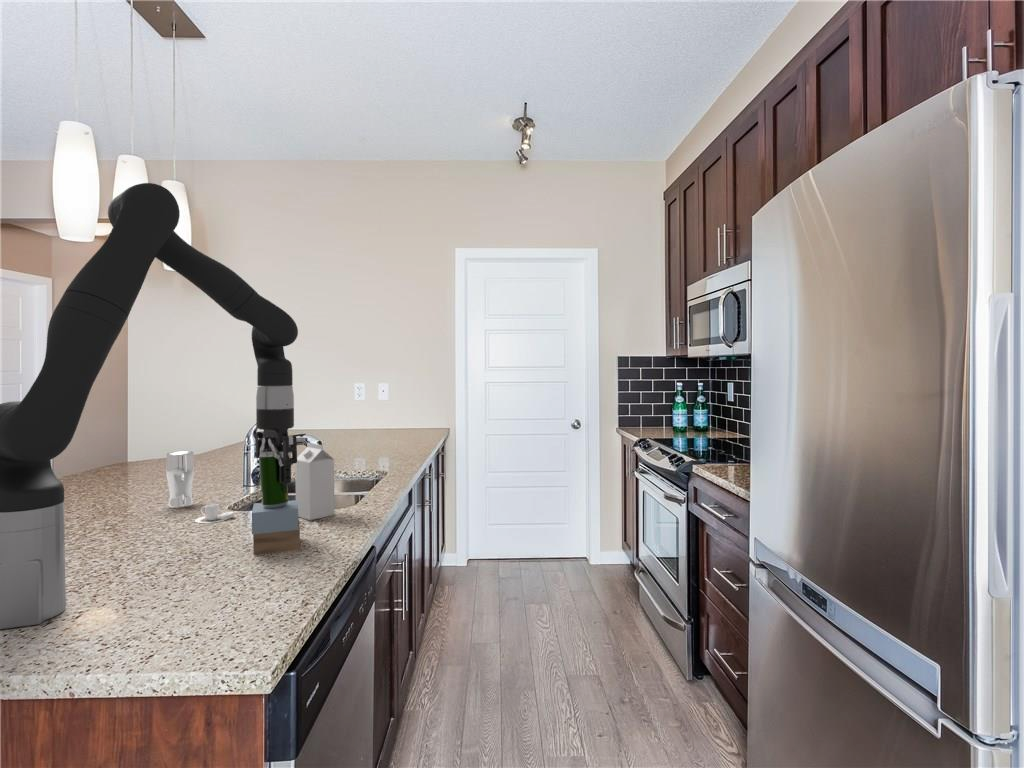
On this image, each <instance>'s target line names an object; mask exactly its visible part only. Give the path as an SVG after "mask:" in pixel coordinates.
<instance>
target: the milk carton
mask: <svg viewBox="0 0 1024 768" xmlns="http://www.w3.org/2000/svg"><path fill="white" fill-rule="evenodd" d="M323 447H324V445H322V444H317V443H309V442H307V444H306V448H305V449H304V450H302V452H300V454H299V455H297V463H295V500H297V501H298V518H301V519H304V520H308V521H312V520H313V521H314V520H317V519H323V518H326V517H331V516H335V458H333V457H332V456H331V455H330V454H329V453H328V452H326V451H325V450H324V449H323Z"/></svg>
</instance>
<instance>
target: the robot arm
mask: <svg viewBox="0 0 1024 768" xmlns="http://www.w3.org/2000/svg"><path fill="white" fill-rule="evenodd" d="M180 212H181V211H180V207H179V203H178V201H177V199H176V198H175V196H174V194H173V193H172V192H171V191H170V190H169V189H167V188H166V187H164V186H162V185H160V184H157V183H152V182H143V183H138V184H135V185H132V186H129V187H127V188H126V189H125V190H124V191H122V192H121V193H120V194H118V195H116V197H114V199H112V200H111V201H110V202H109V205H108V209H107V217H108V221H109V223H110V225H111V227H112V229H111V231H110V233H109V234H108V236H107V238H106V240H105V241H104V243H103V244H102V245H101V246H100V248H99V249H98V250H97V251H96V252H95V253H94V254H93V255H92V257H91V258H90V259H89V260H88V261H87V262H86V263H85V264H84V266H82V268H80V270H79V272H78V273H77V274H76V275H75V277H73V279H72V280H71V282H70V283H69V284H68V286H67V287H66V289H65V291H64V293H63V294H62V296H61V298H60V299H59V301H58V304H57V305H56V307H55V309H54V310H53V312H52V314H51V317H50V319H49V322H48V326H47V335H46V348H45V356H44V360H43V364H42V367H41V369H40V371H39V373H38V375H37V377H36V379H35V381H34V382H33V383H32V385H31V386H30V389H29V390H28V392H27V393H26V395H24V397H23V399H22V400H16V401H14V400H13V401H7V402H2V403H0V630H4V629H11V628H20V627H26V626H33V625H41V624H42V623H43V622H44V621H47V620H48V619H51V618H54V617H56V616H58V615H60V614H62V613H63V612H64V611H65V610H66V609H67V608H66V607H67V600H66V598H67V596H66V595H67V593H66V589H67V588H66V585H67V584H66V542H65V540H66V538H65V537H66V535H65V533H66V532H65V520H66V519H65V487H64V484H63V483H62V482H61V481H60V480H59V479H58V478H57V476H56V474H55V473H54V471H53V469H52V461H51V460H53V459H54V458H56V457H58V456H59V455H61V454H62V453H63V452H64V451H66V449H67V448H68V446H69V444H70V443H71V442H72V439H73V438H74V435H75V433H76V431H77V428H78V426H79V423H80V419H81V417H82V414H83V411H84V409H85V406H86V403H87V401H88V397H89V395H90V392H91V391H92V390H91V389H92V387H93V386H94V383H95V381H96V379H97V377H98V375H99V374H100V372H101V369H102V368H103V366H104V365H105V362H106V360H107V357H108V356H109V354H110V351H111V350H112V348H113V346H114V344H115V342H116V340H117V339H118V337H119V335H120V333H121V332H122V329H123V327H124V326H125V324H126V321H127V320H128V317H129V315H130V313H131V311H132V308H133V306H134V304H135V302H136V300H137V297H138V295H139V293H140V291H141V289H142V287H143V285H144V282H145V280H146V276H147V275H148V272H149V271H150V268H151V266H152V264H153V262H154V261H155V259H157V260H159V261H160V262H162V263H163V264H164V265H166V266H167V267H168V268H170V269H172V270H173V271H175V272H176V273H178V274H179V275H180V276H182V277H183V278H185V279H186V280H188V281H189V282H190V283H191V284H193V285H194V286H196V288H198V289H199V290H200V291H202V292H203V293H204V294H206V296H207V297H209V298H210V299H212V301H214V302H215V303H216V304H217V305H218V306H219V307H221V308H222V309H223V310H224V311H225V312H227V313H228V314H229V315H230V316H231V317H233V318H234V319H236V320H238V321H242V322H246V323H247V324H249V325H251V326H252V329H251V343H252V347H253V353H254V357H255V361H256V365H257V371H256V372H257V373H256V374H257V377H256V378H257V379H256V380H257V383H256V384H257V385H256V386H257V387H256V388H257V391H256V397H255V399H256V400H255V403H256V405H255V410H256V413H255V415H256V419H255V420H256V428H257V429H258V430H260V431H256V433H255V452H254V453H255V459H259V455H260V451H265V450H267V451H273V454H274V457H275V458H277V459H278V462H279V465H280V467H279V477H280V484H290V483H292V466H293V465H294V464H296V463H297V457H298V449H297V448H298V447H297V446H298V445H297V442H298V441H297V435H296V434H290V435H289V432H288V431H289V429H292V428H294V426H295V395H294V387H293V385H294V384H293V382H294V381H293V365H292V362H291V361H290V360H289V359H288V358H286V355H285V350H284V349H285V348H284V347H287V346H290V345H292V344H293V343H294V342H295V341H296V340H297V338H298V335H299V329H298V326H297V323H296V321H295V320H294V318H292V316H290V314H288V313H287V312H286V311H285V310H284V309H282V308H281V307H279V306H277V305H276V304H274V303H273V302H272V301H270V300H269V299H267V298H265V297H263V296H262V295H260V294H259V293H258V291H256V290H255V289H254V288H253V287H252V286H251V285H250V284H249V283H248V282H247V281H245V280H244V278H242V277H241V276H239V274H238V273H236V272H235V271H234V270H232V269H231V268H230V267H228V266H226V265H224V264H223V263H221V262H219V261H218V260H215V259H213V258H212V257H211V256H208V255H206V254H205V253H202V252H201V251H199V250H198V249H196V248H195V247H193V246H191V245H190V244H189V243H188V242H186V240H184V239H183V238H182V237H181V236H179V235H178V233H177V232H175V229H176V228H177V227H178V224H179V222H180ZM282 457H283V458H282Z"/></svg>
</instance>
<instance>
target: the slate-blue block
mask: <svg viewBox="0 0 1024 768" xmlns="http://www.w3.org/2000/svg"><path fill="white" fill-rule="evenodd" d="M298 519H299V517H298V501H297V500H296V499H293V500H292V499H291V500H289V501H288V504H287V505H285V506H282V507H277V508H264V507H263V505H262V502H259V503H258V502H257V503H255V502H254V503H253V506H252V510H251V535H253V534H263V533H273V532H283V531H293V530H298Z"/></svg>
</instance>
